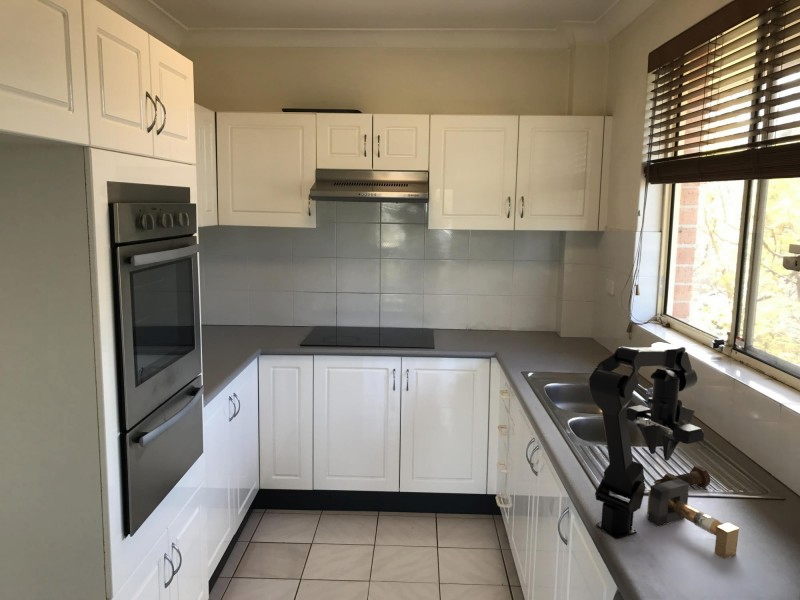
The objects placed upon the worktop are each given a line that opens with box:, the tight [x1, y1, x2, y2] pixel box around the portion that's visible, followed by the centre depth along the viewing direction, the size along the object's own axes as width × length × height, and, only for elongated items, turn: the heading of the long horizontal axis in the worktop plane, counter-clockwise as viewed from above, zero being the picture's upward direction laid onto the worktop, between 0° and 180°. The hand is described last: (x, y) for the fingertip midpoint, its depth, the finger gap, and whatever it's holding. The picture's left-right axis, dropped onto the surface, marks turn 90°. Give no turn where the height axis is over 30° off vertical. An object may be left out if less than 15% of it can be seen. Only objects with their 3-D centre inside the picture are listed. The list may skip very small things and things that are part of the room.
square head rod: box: [646, 489, 740, 560], centre depth 136 cm, size 20×4×6 cm, turn 26°
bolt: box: [653, 465, 711, 489], centre depth 157 cm, size 6×5×15 cm
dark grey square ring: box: [647, 479, 690, 527], centre depth 141 cm, size 3×9×9 cm, turn 116°
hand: (659, 456), depth 147 cm, fingers open, 4 cm apart
